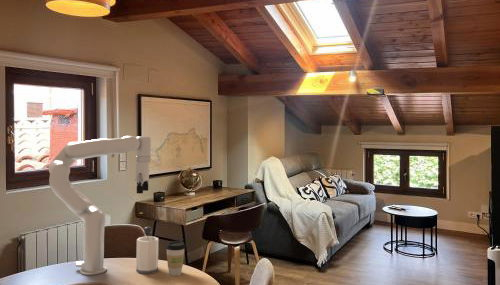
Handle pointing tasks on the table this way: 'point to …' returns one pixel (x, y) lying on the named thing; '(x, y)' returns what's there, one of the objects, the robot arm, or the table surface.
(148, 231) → the plunger
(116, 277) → the table surface
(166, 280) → the table surface
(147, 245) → the coffee press
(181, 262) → the coffee cup
